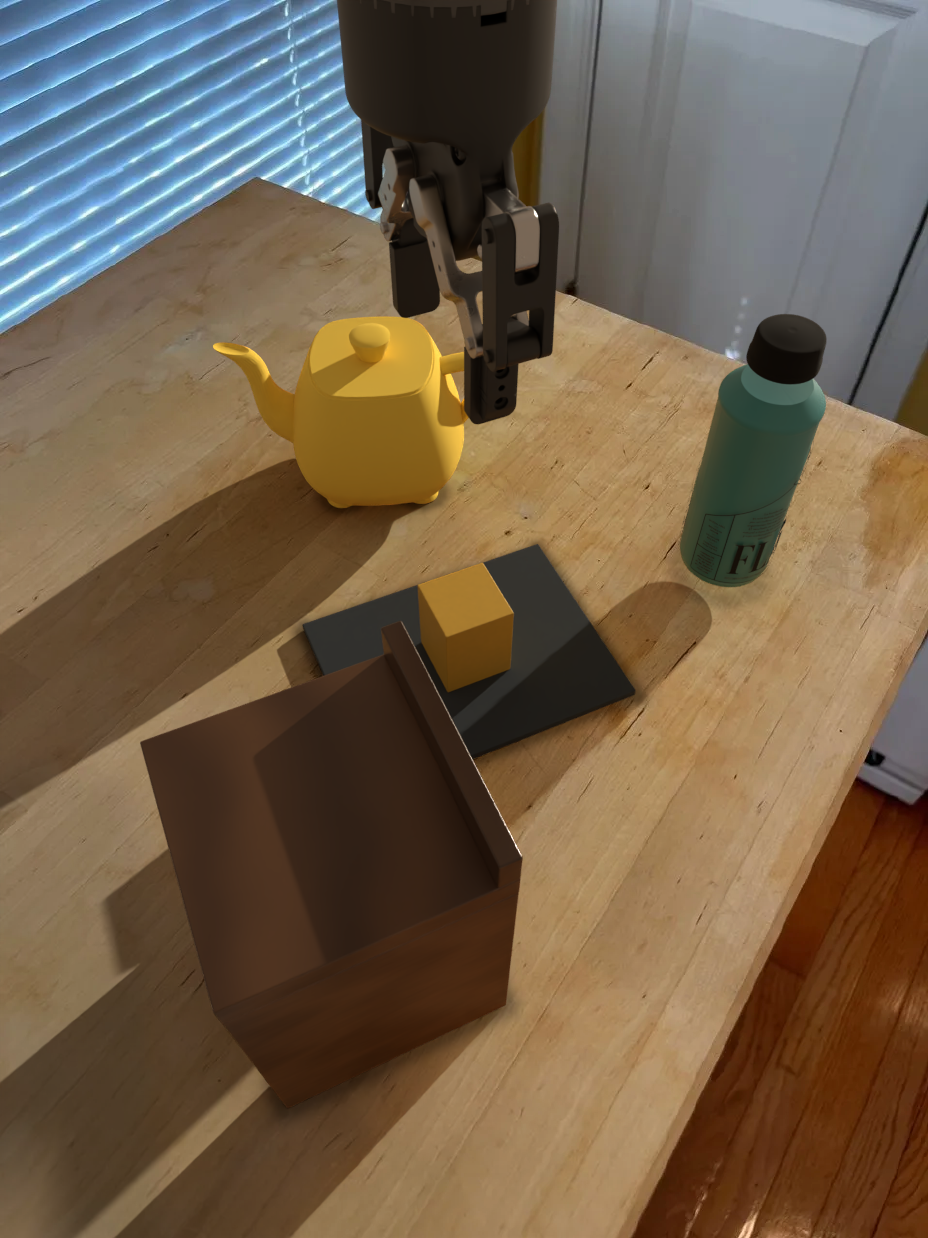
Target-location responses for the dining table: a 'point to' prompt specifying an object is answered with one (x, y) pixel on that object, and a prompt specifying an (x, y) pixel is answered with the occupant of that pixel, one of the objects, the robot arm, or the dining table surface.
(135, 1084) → the dining table surface
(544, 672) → the slate mat
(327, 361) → the teapot
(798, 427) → the beverage bottle
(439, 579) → the yellow block
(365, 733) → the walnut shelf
